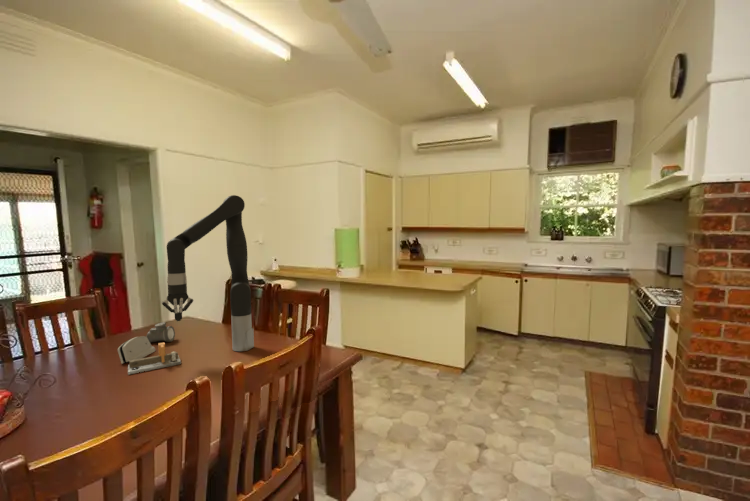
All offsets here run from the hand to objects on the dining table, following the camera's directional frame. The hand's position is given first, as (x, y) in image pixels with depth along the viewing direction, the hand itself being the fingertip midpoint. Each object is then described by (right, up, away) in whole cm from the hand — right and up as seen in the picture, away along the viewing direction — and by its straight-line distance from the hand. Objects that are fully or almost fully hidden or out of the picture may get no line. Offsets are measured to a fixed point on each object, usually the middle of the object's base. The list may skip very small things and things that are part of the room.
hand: (178, 320), depth 157 cm
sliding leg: (-5, -17, -4) cm, 18 cm away
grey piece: (-7, -18, -7) cm, 21 cm away
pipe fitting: (-24, -17, +26) cm, 39 cm away
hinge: (-22, -18, +4) cm, 29 cm away
